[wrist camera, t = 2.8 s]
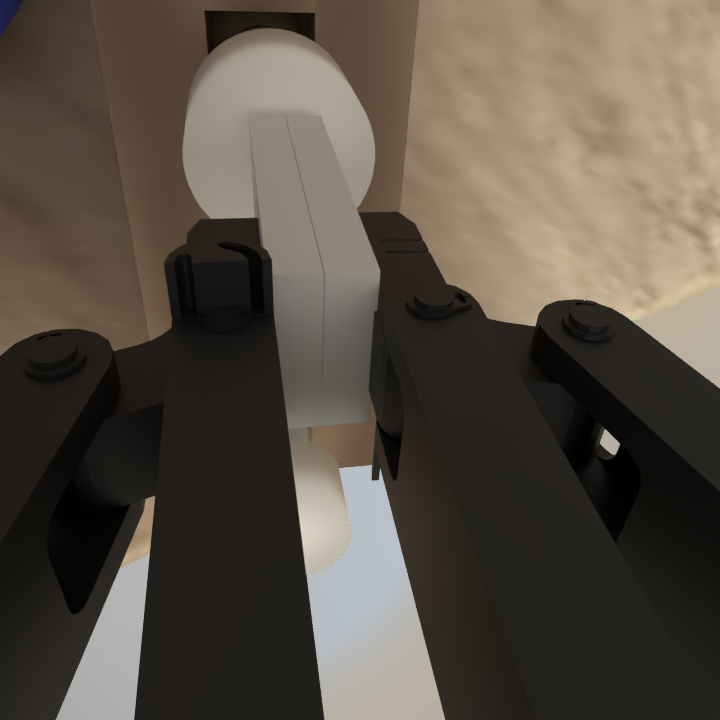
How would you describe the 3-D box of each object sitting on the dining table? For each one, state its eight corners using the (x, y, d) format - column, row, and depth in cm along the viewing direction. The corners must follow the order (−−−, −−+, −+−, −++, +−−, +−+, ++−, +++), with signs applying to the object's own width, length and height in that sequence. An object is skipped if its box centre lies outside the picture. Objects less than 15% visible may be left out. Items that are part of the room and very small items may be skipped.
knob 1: (200, 132, 23) (193, 250, 16) (186, -12, 20) (170, 57, 13) (326, 131, 24) (369, 243, 17) (328, -9, 21) (381, 59, 14)
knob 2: (229, 427, 31) (232, 585, 25) (222, 354, 29) (223, 508, 22) (321, 420, 32) (348, 571, 25) (322, 347, 29) (353, 495, 23)
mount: (180, 402, 37) (175, 483, 32) (97, -135, 22) (65, -131, 18) (357, 389, 38) (376, 464, 34) (387, -119, 24) (428, -111, 19)
